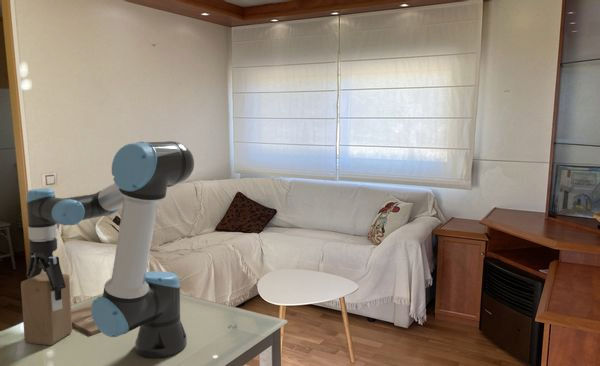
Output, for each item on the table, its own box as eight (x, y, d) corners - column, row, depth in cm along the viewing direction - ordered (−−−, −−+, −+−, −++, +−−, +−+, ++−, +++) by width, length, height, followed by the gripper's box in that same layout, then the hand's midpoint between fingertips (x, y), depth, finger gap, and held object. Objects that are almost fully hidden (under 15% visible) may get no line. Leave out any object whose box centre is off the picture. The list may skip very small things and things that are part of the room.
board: (129, 320, 159) (129, 317, 159) (91, 335, 148) (91, 331, 148) (95, 306, 172) (94, 302, 172) (57, 318, 161) (57, 314, 161)
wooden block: (51, 347, 140) (47, 283, 138) (23, 343, 142) (19, 281, 140) (73, 332, 150) (70, 273, 148) (47, 329, 152) (43, 271, 150)
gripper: (76, 242, 138) (79, 310, 141) (36, 230, 152) (40, 291, 155) (50, 248, 132) (54, 318, 135) (12, 234, 146) (15, 298, 149)
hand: (46, 304), depth 145 cm, fingers open, 13 cm apart
